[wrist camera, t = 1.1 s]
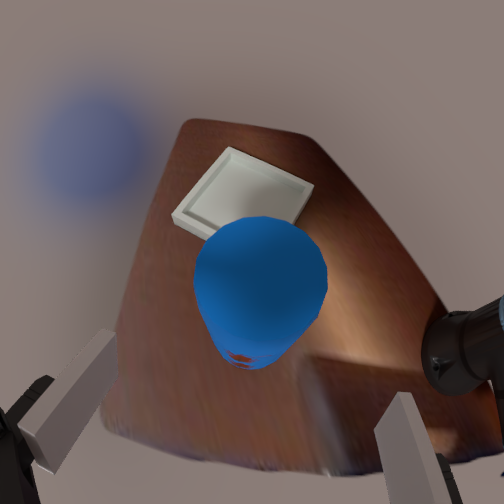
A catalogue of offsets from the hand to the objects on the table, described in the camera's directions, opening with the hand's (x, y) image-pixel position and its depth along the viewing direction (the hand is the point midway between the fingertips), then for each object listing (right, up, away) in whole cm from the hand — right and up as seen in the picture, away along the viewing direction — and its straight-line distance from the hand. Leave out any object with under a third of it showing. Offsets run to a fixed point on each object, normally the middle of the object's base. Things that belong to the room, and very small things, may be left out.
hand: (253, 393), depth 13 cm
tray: (-1, +14, +44) cm, 46 cm away
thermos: (0, -6, +34) cm, 35 cm away
